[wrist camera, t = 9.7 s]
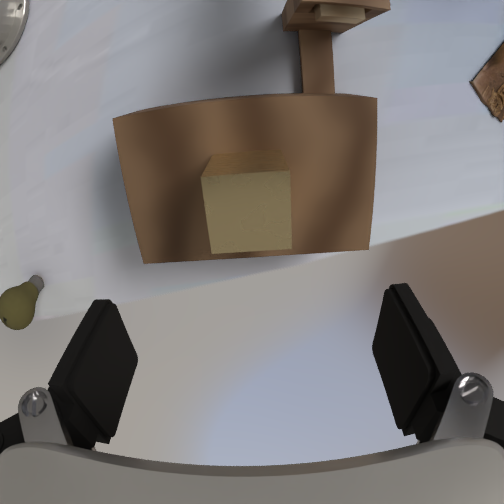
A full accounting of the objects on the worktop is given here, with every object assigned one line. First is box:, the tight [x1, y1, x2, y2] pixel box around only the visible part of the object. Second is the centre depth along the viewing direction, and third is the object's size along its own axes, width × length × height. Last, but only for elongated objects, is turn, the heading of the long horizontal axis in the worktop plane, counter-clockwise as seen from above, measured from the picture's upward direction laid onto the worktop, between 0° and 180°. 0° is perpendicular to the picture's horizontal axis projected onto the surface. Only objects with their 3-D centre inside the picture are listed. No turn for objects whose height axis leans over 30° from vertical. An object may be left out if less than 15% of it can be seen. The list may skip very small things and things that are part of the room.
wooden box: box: [119, 0, 391, 117], centre depth 24 cm, size 20×22×12 cm
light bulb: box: [0, 275, 44, 330], centre depth 34 cm, size 6×6×10 cm
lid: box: [113, 95, 377, 264], centre depth 22 cm, size 20×13×8 cm, turn 94°
